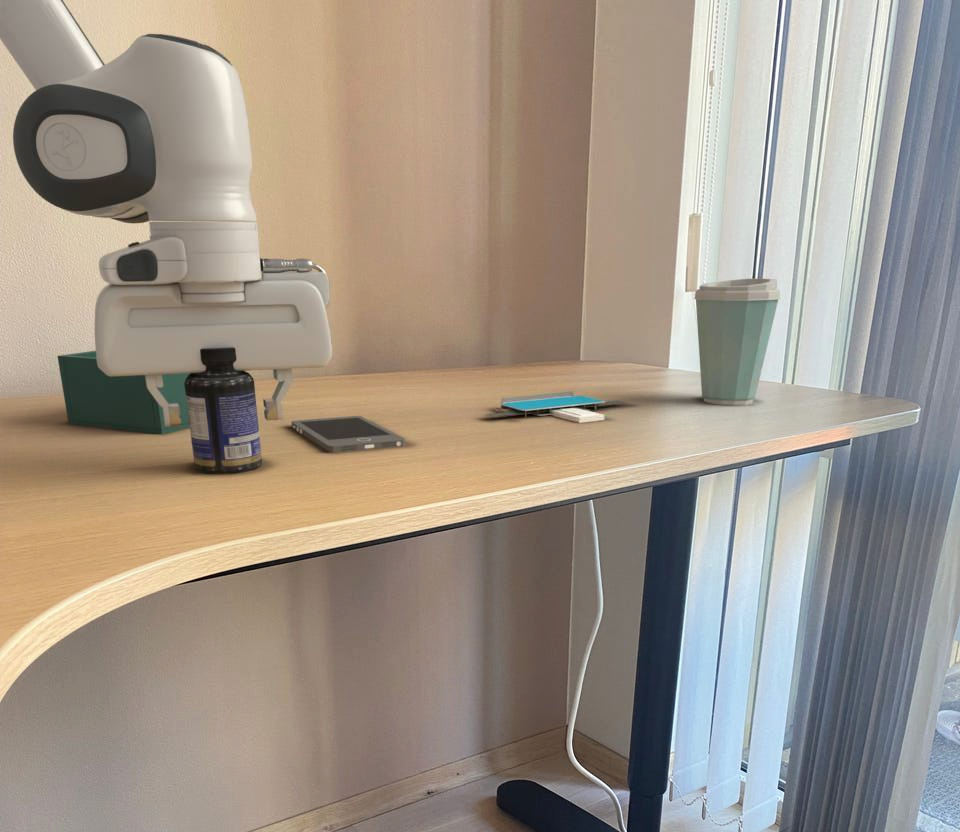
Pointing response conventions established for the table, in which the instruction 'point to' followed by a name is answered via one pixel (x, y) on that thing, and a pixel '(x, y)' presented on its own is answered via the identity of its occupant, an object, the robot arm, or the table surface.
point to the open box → (117, 397)
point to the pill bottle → (223, 415)
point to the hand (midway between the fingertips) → (224, 422)
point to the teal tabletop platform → (554, 406)
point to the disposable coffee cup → (734, 337)
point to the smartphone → (347, 434)
